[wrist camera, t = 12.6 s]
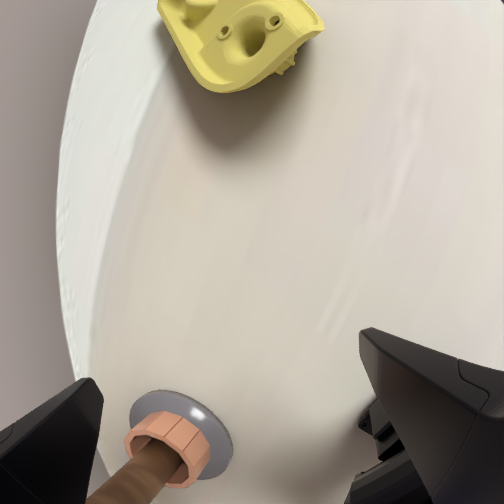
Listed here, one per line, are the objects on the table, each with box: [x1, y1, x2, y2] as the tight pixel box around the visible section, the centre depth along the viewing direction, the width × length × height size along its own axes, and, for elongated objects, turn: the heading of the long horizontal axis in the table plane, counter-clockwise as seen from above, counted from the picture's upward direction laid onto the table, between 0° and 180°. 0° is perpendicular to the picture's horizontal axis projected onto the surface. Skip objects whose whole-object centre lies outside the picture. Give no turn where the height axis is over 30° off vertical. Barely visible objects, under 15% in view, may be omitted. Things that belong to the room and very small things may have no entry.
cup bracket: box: [124, 390, 233, 488], centre depth 22 cm, size 11×11×4 cm
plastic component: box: [157, 0, 324, 93], centre depth 19 cm, size 20×7×10 cm
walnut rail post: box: [86, 437, 184, 504], centre depth 17 cm, size 4×4×12 cm
